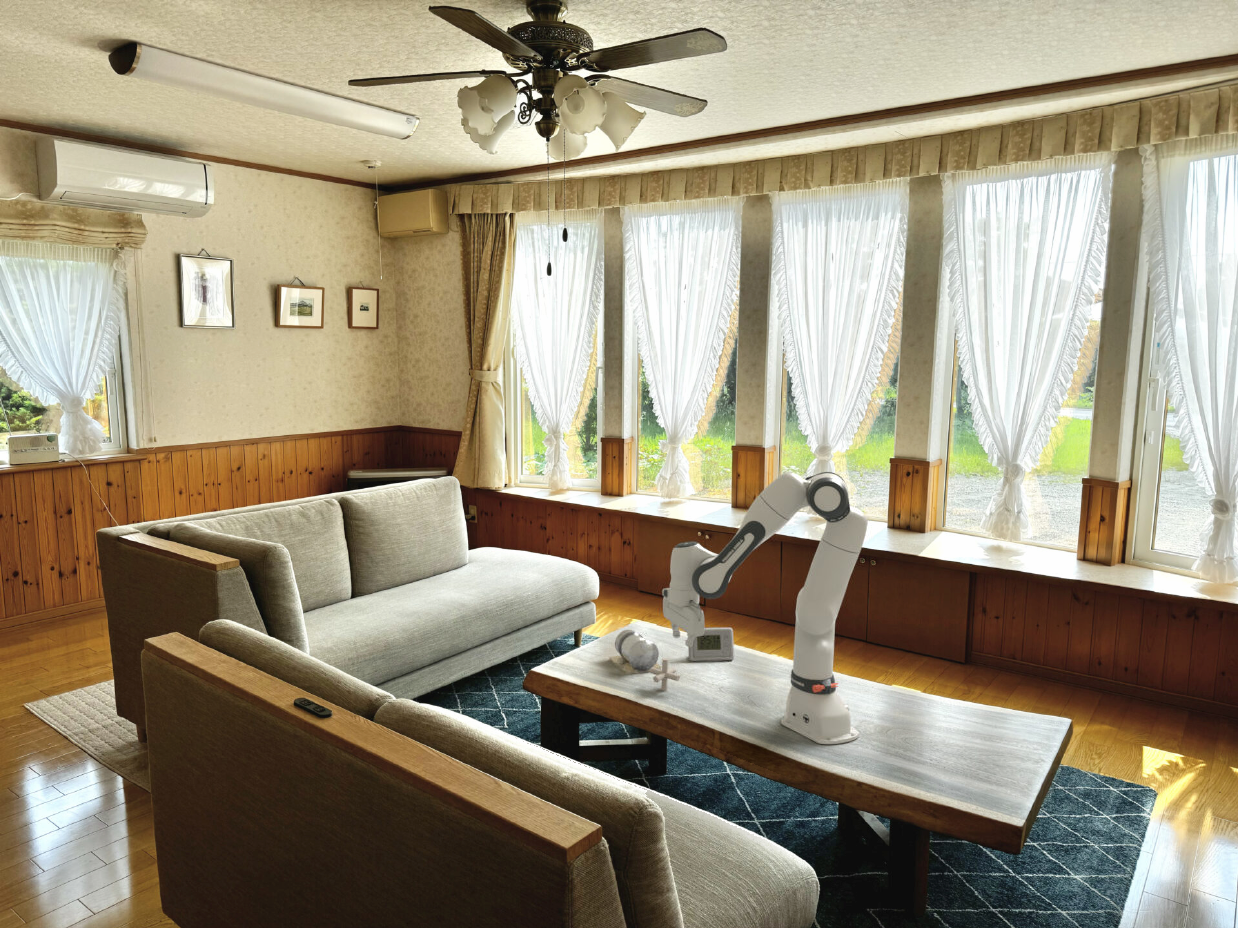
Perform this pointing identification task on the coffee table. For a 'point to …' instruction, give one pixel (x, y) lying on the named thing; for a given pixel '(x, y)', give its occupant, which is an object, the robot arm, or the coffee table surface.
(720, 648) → the digital clock
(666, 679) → the pipe connector
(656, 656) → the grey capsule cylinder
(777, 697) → the coffee table surface
